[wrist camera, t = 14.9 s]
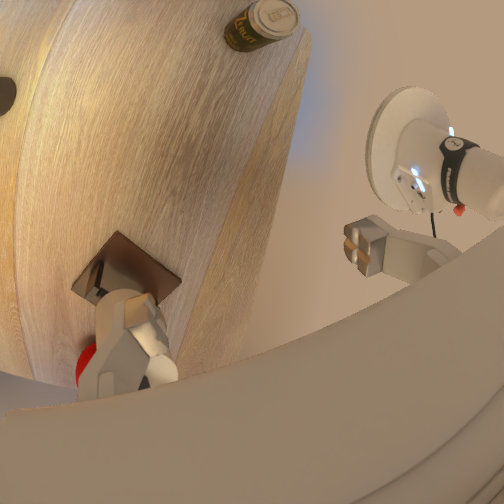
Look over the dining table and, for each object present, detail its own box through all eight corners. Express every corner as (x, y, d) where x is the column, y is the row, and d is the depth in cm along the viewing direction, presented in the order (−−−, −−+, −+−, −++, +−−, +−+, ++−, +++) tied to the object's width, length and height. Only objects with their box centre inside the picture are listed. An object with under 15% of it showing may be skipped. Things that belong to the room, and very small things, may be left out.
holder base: (132, 324, 48) (133, 354, 42) (71, 286, 40) (63, 316, 34) (181, 279, 46) (187, 308, 40) (117, 230, 38) (111, 256, 32)
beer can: (249, 14, 27) (286, -12, 18) (267, 43, 30) (310, 29, 21) (215, 29, 27) (241, 3, 18) (235, 59, 31) (268, 45, 21)
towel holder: (161, 298, 42) (130, 336, 41) (115, 266, 36) (84, 309, 36) (213, 403, 24) (163, 448, 24) (135, 376, 19) (89, 429, 18)
